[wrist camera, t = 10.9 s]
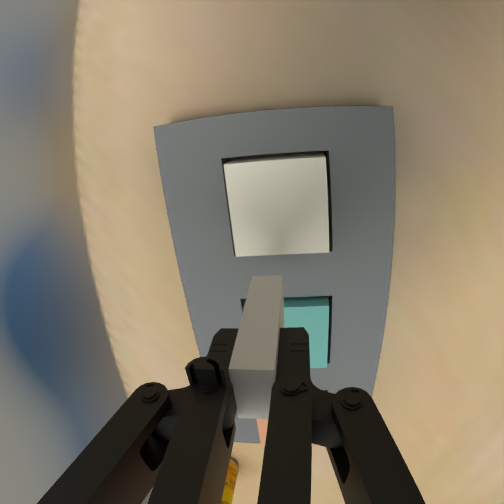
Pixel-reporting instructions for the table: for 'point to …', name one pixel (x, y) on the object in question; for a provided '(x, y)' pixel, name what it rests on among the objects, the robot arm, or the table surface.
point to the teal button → (310, 324)
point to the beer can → (230, 483)
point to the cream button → (278, 204)
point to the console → (289, 265)
